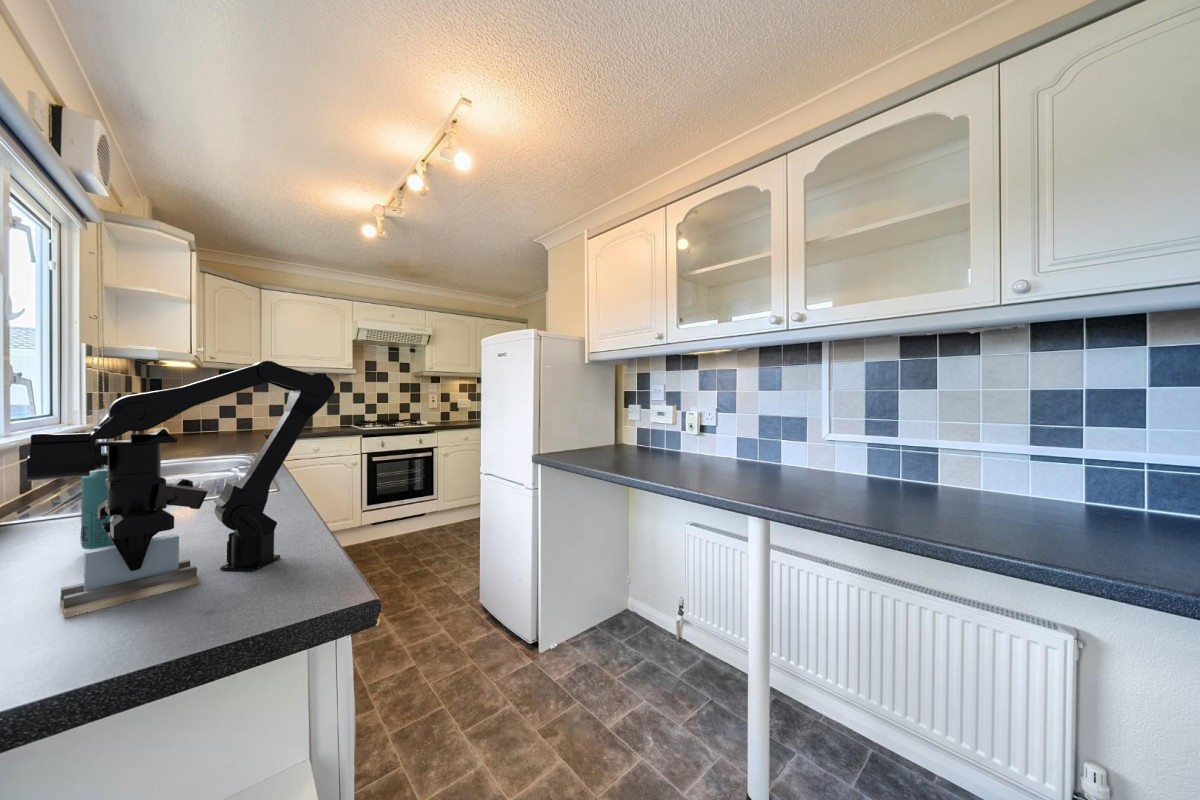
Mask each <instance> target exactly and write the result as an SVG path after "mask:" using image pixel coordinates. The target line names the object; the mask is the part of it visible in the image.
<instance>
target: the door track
mask: <svg viewBox="0 0 1200 800" xmlns="http://www.w3.org/2000/svg"><path fill="white" fill-rule="evenodd" d="M199 579H200V577H199V576H198V566H196V565H191V560H190V559H189V558H188V559H184V560H179V569H177V570H173V571H169V572H165V573H160V574H156V575H152V576H148V577H143V578H139V579H135V580H131V581H126V582H122V583H118V584H114V585H109V586H105V587H101V588H97V589H92V590H88V591H84V582H82V583H77V584H73V585H69V586H64V587H61V588H60V595H59V602H60V607H61V610H63V611H62V614H63V618H64V619H67V618H71V617H76V616H80V615H83V613H84V614H87V613H86V612H88V613H91V612H96V611H98V610H102V609H106V608H110V607H115V606H118V605H122V604H126V603H128V602H133V601H136V600H140V599H144V598H148V597H152V596H155V595H159V594H164V593H167V592H170V591H171V592H172V591H174V590H179V589H183V588H186V587H189V586H194V585H198V584H200V583H199V582H200V581H199ZM132 600H133V601H132ZM79 614H80V615H79ZM75 615H76V616H75Z"/></svg>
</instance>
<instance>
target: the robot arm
mask: <svg viewBox="0 0 1200 800" xmlns="http://www.w3.org/2000/svg"><path fill="white" fill-rule="evenodd" d="M264 383H266V384H271V385H273V386H275V387H279V388H281V389H284V390H286V391H289V393H288V397H287V401H286V407H285V410H284V412H283V414H282V415H281V417H280V419H278V422H277V424H276V425H275V426H274V428H273V430H272V432H271V433H270V434H269V437H268V438H267V440H266V441H265V443H264V444H263V446H262V448H261V450H260V451H259V452H258V454H257V455H256V457H255V459H254V460H253V462H252V464H251V466H249V469H248V471H247V472H246V473H245V475H244V476H243V477H242V478H240V479H239V480H238V481H237V482H236V483H232V482H230V481H226V483H225V485H224V487H223V488H222V491H221V493H220V495H219V496H218V497H216V498H215V499H214V500H213V503H214V504H216V506H215V508H214V514H215V517H216V519H217V520H218V521H220V522H221V524H223V526H225V527H226V528H227V529H230V530H231V531H232V532H230V533H228V540H227V541H226V563H225V564H223V565H221V566H220V567H219V570H222V571H224V570H225V571H250V572H251V571H255V570H258V569H260V568H262V567H264V566H266V565H268V564H270V563H272V562H275V561H276V560H278V559H280V558H281V554H275V530H276V527H277V525H278V521H276V520H274V519H273V518H271V517H270V516H269V515H267V514H266V513H264V510H265V508H266V505H267V502H268V499H269V493H270V488H271V484H272V482H273V481H274V479H275V478H276V475H277V474H278V473H279V470H281V467H282V465H283V464H284V462H285V460H286V458H287V457H288V455H289V453H290V452H291V450H292V448H293V446H294V445H295V444H296V441H297V440H298V439H299V437H300V435H301V433H302V432H303V430H304V428H305V426H306V425H307V423H308V421H309V420H310V419H311V418H312V417H313V416H314V415H315V414H316V413H318V412H319V411H320V410H321V409H322V408H323V407H324V405H326V403H327V402H329V400H330V399H331V397H333V395H334V393H335V390H336V386H335V384H334V382H333V380H332V379H331V378H330V377H329V376H327V374H323V373H307V372H304V371H302V370H297V369H294V368H292V367H289V366H285V365H281V364H279V363H278V362H275V361H273V360H264V361H258V362H256V363H254V364H252V365H249V366H245V367H242V368H238V369H236V370H233V371H229V372H226V373H222V374H218V375H216V376H212V377H210V378H206V379H202V380H199V381H196V382H192V383H189V384H186V385H183V386H178V387H173V388H168V389H161V390H159V389H158V390H154V391H148V392H142V393H135V394H129V395H125V396H122V397H119V398H118V399H114V401H112V402H111V404H110V406H109V408H108V412H107V415H108V417H106V418H105V419H104V420H103V421H102V422H100V423H99V424H98V425H97V426H93V430H91V431H90V432H77V433H52V432H51V433H49V432H37V433H32V434H31V435H30V446H29V455H28V456H27V458H26V476H27V477H26V478H27V482H33V481H35V482H36V481H42V480H43V481H44V480H54V479H56V480H57V479H58V480H59V479H68V478H79V477H80V478H82V477H83V476H90V471H94V470H99V469H101V468H102V465H101V453H102V447H108V448H107V453H108V465H107V469H108V479H106V486H107V487H108V493H107V500H105V501H104V502H103V503H102V504H100V505H99V506H98V510H97V517H98V519H99V520H103V519H105V516H110V522H109V523H104V524H102V527H103V528H104V530H105V531H106V533H107V535H108V536H109V538H110V539H111V541H112V543H113V544H114V545H115V546H116V548H117V550H118V551H119V553H120V555H121V556H122V558H123V559H124V561H125V563H126V564H127V566H128V568H129V569H130V571H135V570H139V569H141V567H142V564H143V561H144V558H145V555H146V552H147V550H148V547H149V544H150V541H151V539H152V538H154V536H155V535H157V534H158V533H160V532H166V531H170V530H174V529H175V515H173V514H171V513H170V512H168V511H167V510H164V509H167V506H168V505H169V506H174V507H175V506H177V507H185V508H190V509H194V510H200V509H201V508H202V505H203V503H204V501H205V499H206V498H207V494H208V492H209V490H206V489H204V488H203V487H202V488H201V487H199V486H194V483H193V482H194V481H192V480H190V479H186V478H179V479H177V480H176V481H175V482H174V483H173V482H172V483H171V482H169V483H167V479H166V478H165V477H164V476H162V474H161V472H162V471H161V470H162V469H161V468H162V465H161V463H162V461H161V460H162V457H161V456H162V444H173V443H174V444H175V443H177V442H178V441H179V440H178V438H177V437H175V436H172V435H171V434H170V433H169V432H168V431H167V429H165V428H160V429H159V430H158V431H155V432H152V433H131V434H130V435H129V439H123V440H113V439H115V438H117V437H120V436H122V435H124V434H126V433H128V432H142V431H148V430H150V429H153V428H154V427H157V426H158V425H160V424H162V423H165V422H167V421H168V420H170V419H173V418H174V417H177V416H179V415H180V414H181V413H183V412H185V411H187V410H189V409H191V408H193V407H197V406H199V405H201V404H204V403H207V402H210V401H213V400H216V399H219V398H223V397H226V396H229V395H232V394H234V393H237V392H240V391H243V390H246V389H250V388H252V387H255V386H259V385H261V384H264ZM97 440H103V441H97ZM105 440H106V441H105ZM109 440H110V441H109Z"/></svg>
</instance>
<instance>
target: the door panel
mask: <svg viewBox="0 0 1200 800" xmlns="http://www.w3.org/2000/svg"><path fill="white" fill-rule="evenodd" d="M179 551H180V536H179V535H178V534H177V533H174V534H169V535H168V534H167V535H162V536H158V537H152V539H151V541H150V544H149V547H148V550H147V552H146V555H145V558H144V561H143V564H142V567H141V569H139V570H135V571H130V569H129V568H128V566H127V564H126V563H125V561H124V559H123V558H122V556H121V555H120V553H119V551H118V550H117V548H116V546H115V545H113V546H107V547H102V548H97V549H85V550H84V553H83V555H84V563H83V583H84V591H88V590H92V589H97V588H101V587H105V586H109V585H114V584H118V583H122V582H126V581H131V580H135V579H139V578H143V577H148V576H152V575H156V574H160V573H165V572H169V571H173V570H177V569H179V561H180V560H179V557H180V556H179V555H180V552H179Z"/></svg>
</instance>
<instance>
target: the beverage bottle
mask: <svg viewBox="0 0 1200 800" xmlns="http://www.w3.org/2000/svg"><path fill="white" fill-rule="evenodd" d="M106 465H107V466H108V452H105V453H102V452H101V466H106ZM80 479H81V499H80V503H81V504H79V506H80V508H81V510H80V511H81V512H80V514H79V515H80V516H79V517H80V523H81V526H80V538H79V539H80V540H81V541H80V544H79V545H81V548H82V549H83V550H91V549H97V548H102V547H107V546H113V545H114V544H113V543H112V541H111V539H110V538H109V536H108V535H107V533H106V531H105V530H104V528H103V527H102V524H104V523H109V522H110V516H105V519H103V520H99V519H98V517H97V510H98V506H99V505H100V504H102V503H103V502H104V501H105V500H107V493H108V487H107V486H106V479H108V468H105V469H95V470H94V471H90V476H82V477H80Z"/></svg>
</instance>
